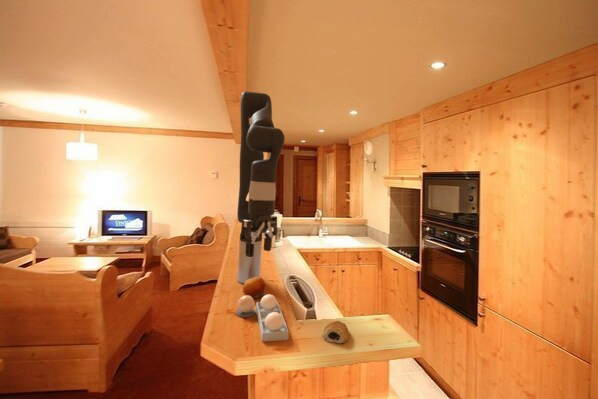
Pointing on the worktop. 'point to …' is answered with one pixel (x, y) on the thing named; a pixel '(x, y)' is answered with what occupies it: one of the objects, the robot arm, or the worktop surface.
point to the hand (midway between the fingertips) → (258, 253)
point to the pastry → (336, 332)
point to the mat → (245, 315)
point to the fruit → (254, 287)
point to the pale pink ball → (246, 303)
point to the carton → (264, 332)
